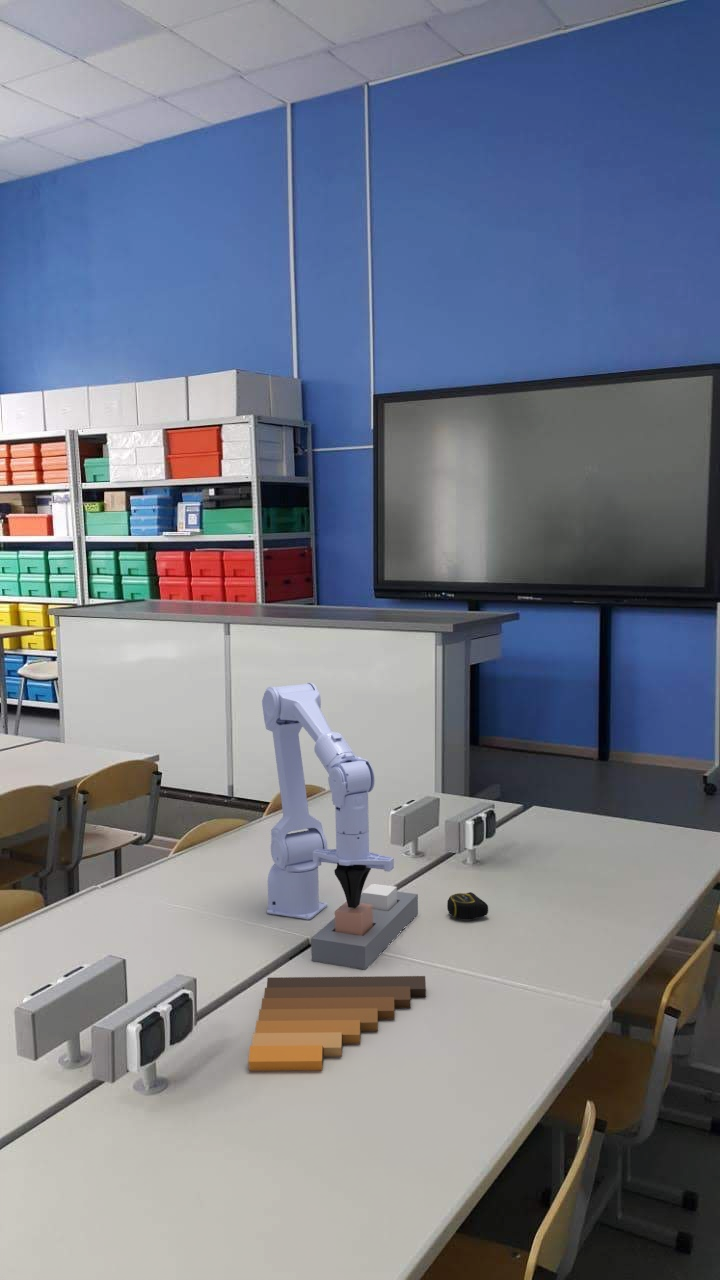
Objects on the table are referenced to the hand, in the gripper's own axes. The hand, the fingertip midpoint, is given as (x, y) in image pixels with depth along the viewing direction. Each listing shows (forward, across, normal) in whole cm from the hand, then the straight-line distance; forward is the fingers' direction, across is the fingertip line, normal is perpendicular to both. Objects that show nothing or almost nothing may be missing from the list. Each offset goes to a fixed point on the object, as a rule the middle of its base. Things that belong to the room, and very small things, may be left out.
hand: (353, 905), depth 176 cm
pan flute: (+9, +10, -26) cm, 29 cm away
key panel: (+8, 0, +6) cm, 10 cm away
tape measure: (+8, +14, +22) cm, 27 cm away
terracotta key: (+5, 0, 0) cm, 5 cm away
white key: (+6, 0, +12) cm, 13 cm away
